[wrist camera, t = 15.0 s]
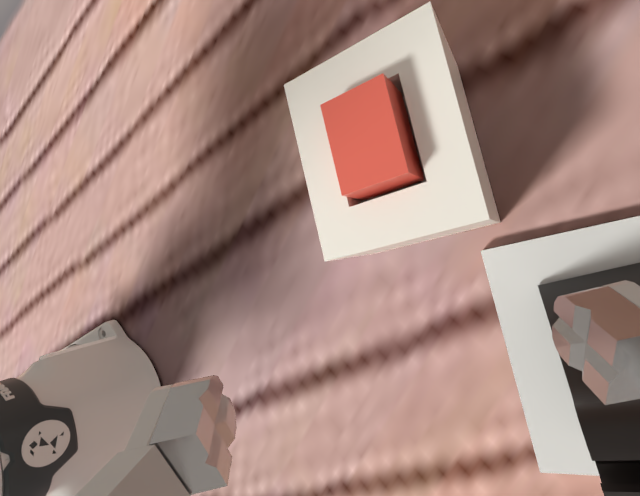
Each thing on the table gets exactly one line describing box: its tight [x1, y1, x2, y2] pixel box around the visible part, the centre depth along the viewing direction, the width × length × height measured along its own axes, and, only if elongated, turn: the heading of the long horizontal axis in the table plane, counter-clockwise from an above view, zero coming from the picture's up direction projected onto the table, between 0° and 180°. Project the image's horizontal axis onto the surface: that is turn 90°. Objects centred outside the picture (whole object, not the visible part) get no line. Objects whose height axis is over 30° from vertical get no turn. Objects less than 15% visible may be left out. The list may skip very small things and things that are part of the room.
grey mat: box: [481, 216, 640, 476], centre depth 21 cm, size 12×14×1 cm
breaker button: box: [320, 73, 424, 200], centre depth 20 cm, size 4×5×3 cm
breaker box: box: [284, 2, 501, 261], centre depth 23 cm, size 9×11×8 cm
